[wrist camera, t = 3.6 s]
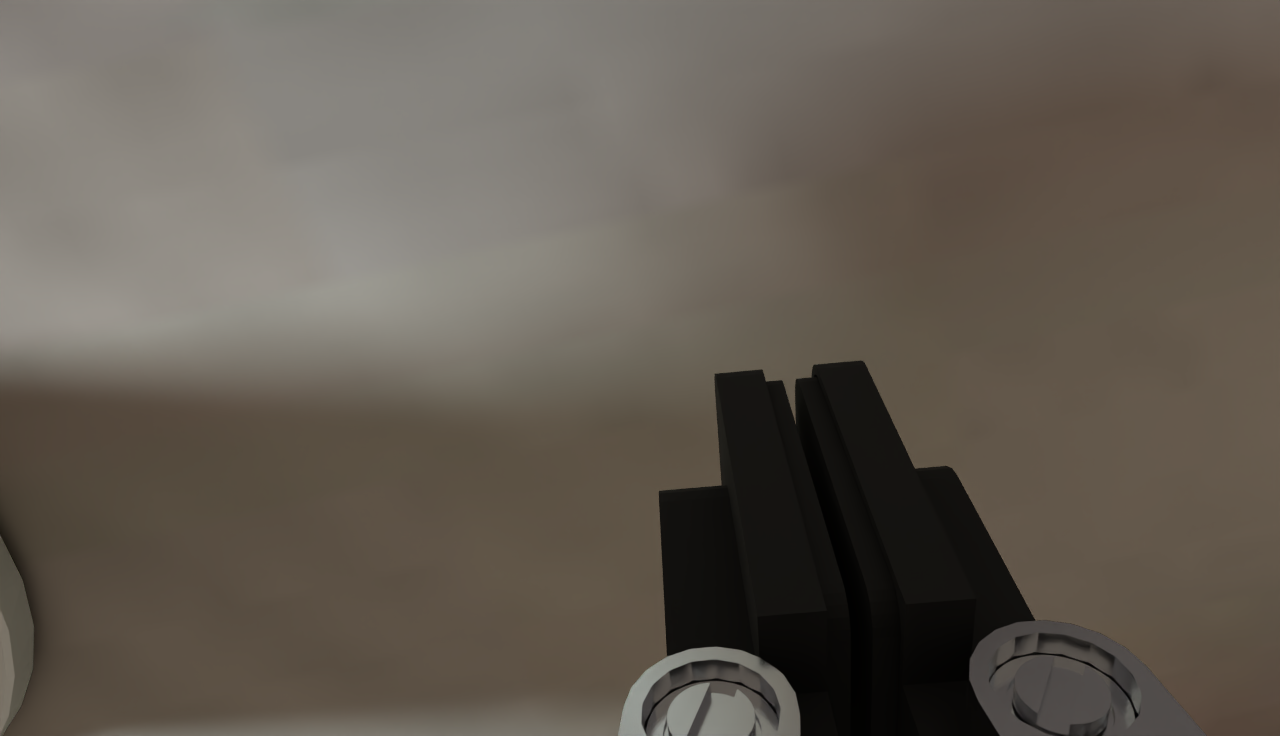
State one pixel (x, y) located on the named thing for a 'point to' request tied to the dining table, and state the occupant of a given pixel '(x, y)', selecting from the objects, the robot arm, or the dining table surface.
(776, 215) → the dining table surface
